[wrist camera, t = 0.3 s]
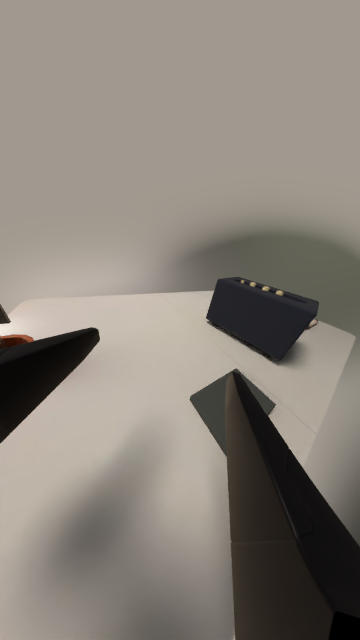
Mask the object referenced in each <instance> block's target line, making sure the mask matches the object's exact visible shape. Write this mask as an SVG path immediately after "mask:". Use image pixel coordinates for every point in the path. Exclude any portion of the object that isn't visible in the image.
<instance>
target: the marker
mask: <svg viewBox="0 0 360 640" xmlns="http://www.w3.org/2000/svg"><path fill="white" fill-rule="evenodd" d="M317 322H318V320H317V319H313V320H312V322H311V323H310V324H309V325H308V327H307V328H309V327H311V326H313V325H314V324H316V323H317ZM307 328H306V329H307Z"/></svg>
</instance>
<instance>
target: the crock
mask: <svg viewBox="0 0 360 640" xmlns="http://www.w3.org/2000/svg"><path fill="white" fill-rule="evenodd" d="M1 338H2V339H3V341H4V342H5V344H6V345H7V346H8V347H11V346H15V345H19V344H23V343H28V342H32V341H34V340H33V338H32V337H30V336H27V335H8V336H2V337H1Z"/></svg>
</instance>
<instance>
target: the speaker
mask: <svg viewBox="0 0 360 640" xmlns="http://www.w3.org/2000/svg"><path fill="white" fill-rule="evenodd" d="M318 305H319V302H318V301H315V300H312V299H308V298H305V297H302V296H299V295H295V294H292V293H289V292H285V291H282V290H279V289H276V288H273V287H270V286H266V285H263V284H260V283H256V282H253V281H250V280H247V279H243V278H240V277H233V278H224V279H218V281H217V284H216V287H215V290H214V294H213V297H212V300H211V303H210V307H209V310H208V313H207V316H206V318H207V319H208V320H210V321H211V322H212V324H213V325H218V326H220V327H222V328H224V329H225V330H227V331H229V332H230V333H232V334H234V335H236V336H237V337H239V338H241V339H242V340H244V341H246V342H248V343H249V344H251V345H253V346H254V347H256V348H258V349H260V350H261V351H263V352H264V354H265V356H268V357H271V356H272V357H273V358H275V359H277V360H281V359H282V358H283V357H284V355H285V354H286V353H287V352H288V350H289V349H290V348H291V347H292V345H293V344H294V343H295V342H296V340H297V339H298V338H299V337H300V335H301V334H302V333H303V332H304V330H305V329H306V328H307V327H308V325H309V324H310V323H311V322H312V320H313V319H314V318H315V317H316V315H317V311H318Z"/></svg>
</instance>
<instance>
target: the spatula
mask: <svg viewBox="0 0 360 640" xmlns="http://www.w3.org/2000/svg"><path fill="white" fill-rule="evenodd" d="M10 322H11V321H10V319H9V318H8V316H7V314H6V313H5V311H4V309H3V308H2V306H1V305H0V324H5V323H10ZM6 347H8V346H7V345H6V344H5V342H4V341H3V339H2V338H1V336H0V349H2V348H6Z"/></svg>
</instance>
